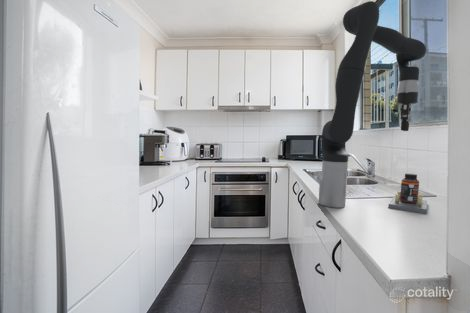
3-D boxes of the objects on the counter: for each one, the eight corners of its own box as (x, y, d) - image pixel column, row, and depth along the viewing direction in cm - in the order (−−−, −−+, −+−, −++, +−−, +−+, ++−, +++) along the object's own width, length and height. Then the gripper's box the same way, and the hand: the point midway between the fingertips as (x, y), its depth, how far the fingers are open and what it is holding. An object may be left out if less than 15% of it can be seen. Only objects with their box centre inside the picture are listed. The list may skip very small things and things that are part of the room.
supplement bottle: (414, 204, 104) (417, 175, 103) (397, 201, 109) (399, 173, 108) (419, 202, 108) (422, 174, 107) (402, 199, 113) (405, 172, 112)
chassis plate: (388, 207, 105) (389, 196, 104) (393, 199, 119) (394, 189, 119) (426, 213, 98) (427, 201, 97) (426, 204, 112) (427, 193, 112)
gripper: (399, 95, 123) (396, 131, 124) (395, 90, 112) (392, 130, 113) (418, 94, 119) (415, 131, 120) (417, 89, 107) (414, 130, 109)
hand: (404, 130), depth 117 cm, fingers open, 8 cm apart
